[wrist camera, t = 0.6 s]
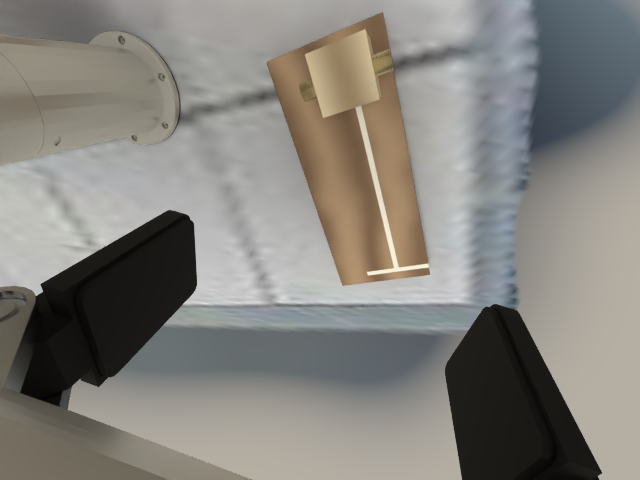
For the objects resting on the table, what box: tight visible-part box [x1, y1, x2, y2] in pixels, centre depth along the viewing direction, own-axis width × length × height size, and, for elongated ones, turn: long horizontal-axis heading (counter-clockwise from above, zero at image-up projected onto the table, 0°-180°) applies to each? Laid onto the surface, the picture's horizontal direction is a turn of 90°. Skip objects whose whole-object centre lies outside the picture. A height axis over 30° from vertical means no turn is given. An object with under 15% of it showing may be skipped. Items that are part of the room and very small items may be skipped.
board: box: [267, 12, 430, 286], centre depth 35 cm, size 12×29×3 cm, turn 18°
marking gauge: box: [299, 29, 394, 118], centre depth 26 cm, size 8×5×6 cm, turn 108°
